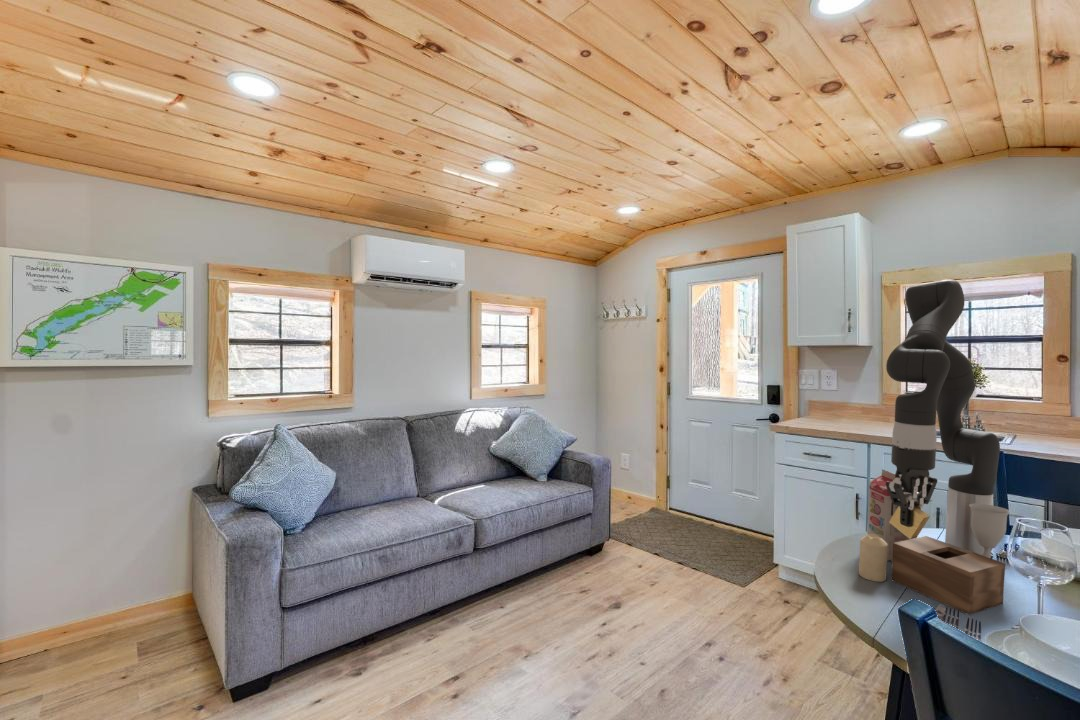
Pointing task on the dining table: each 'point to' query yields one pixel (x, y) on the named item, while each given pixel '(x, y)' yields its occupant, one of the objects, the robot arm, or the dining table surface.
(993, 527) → the chalice
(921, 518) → the brass token
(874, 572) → the candle
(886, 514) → the juice carton
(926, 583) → the box
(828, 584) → the dining table surface
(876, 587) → the dining table surface
